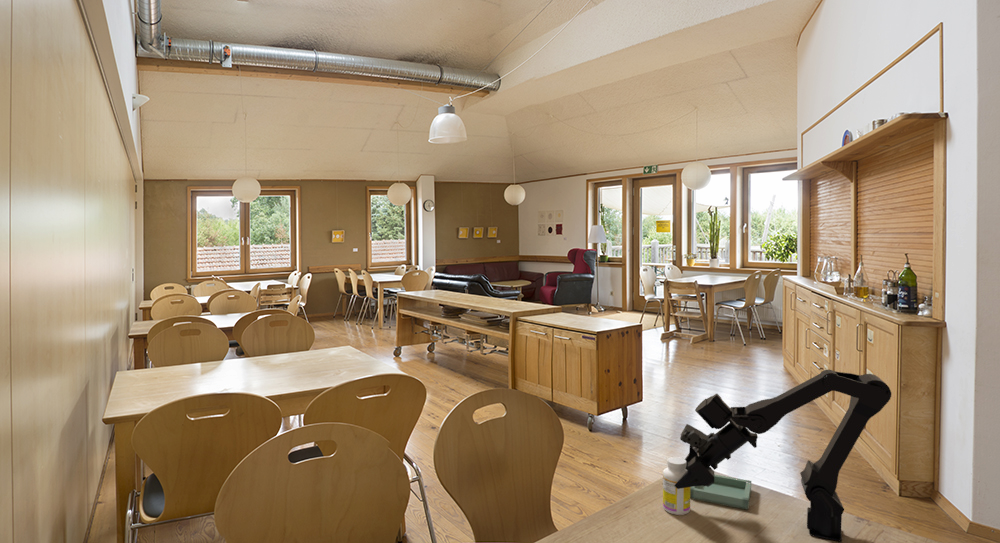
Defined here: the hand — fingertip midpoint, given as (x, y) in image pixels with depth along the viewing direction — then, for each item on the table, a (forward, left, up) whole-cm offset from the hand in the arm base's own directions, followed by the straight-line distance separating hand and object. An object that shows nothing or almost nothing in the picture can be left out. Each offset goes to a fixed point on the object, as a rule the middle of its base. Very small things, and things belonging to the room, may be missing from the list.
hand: (676, 479), depth 145 cm
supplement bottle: (0, 0, -8) cm, 8 cm away
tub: (-9, -14, -8) cm, 18 cm away
